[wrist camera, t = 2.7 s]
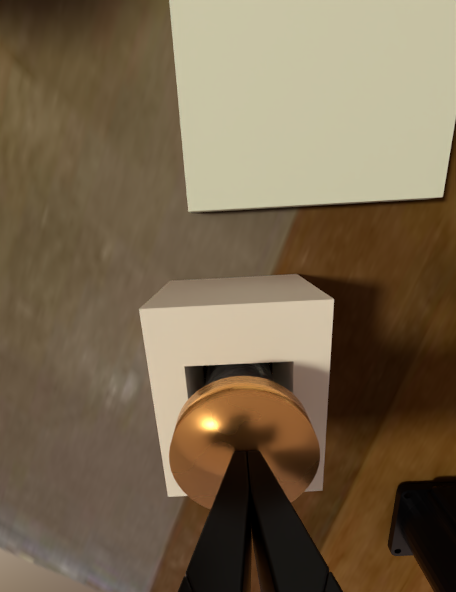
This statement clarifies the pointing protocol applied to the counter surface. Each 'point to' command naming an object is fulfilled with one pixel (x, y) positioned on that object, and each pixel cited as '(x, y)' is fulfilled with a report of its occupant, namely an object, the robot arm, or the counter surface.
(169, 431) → the plunger housing
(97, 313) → the counter surface
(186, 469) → the plunger
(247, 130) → the dock pad
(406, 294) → the counter surface
